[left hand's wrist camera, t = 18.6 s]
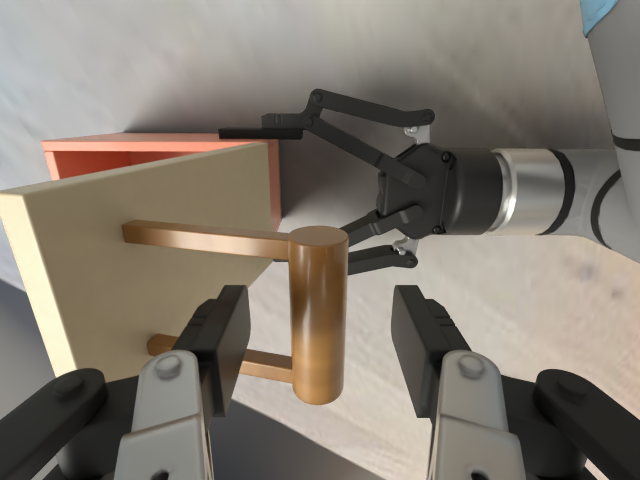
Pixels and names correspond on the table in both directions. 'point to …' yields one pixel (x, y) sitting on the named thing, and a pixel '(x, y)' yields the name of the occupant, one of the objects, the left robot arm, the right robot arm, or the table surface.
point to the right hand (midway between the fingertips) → (229, 191)
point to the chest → (149, 155)
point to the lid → (173, 265)
